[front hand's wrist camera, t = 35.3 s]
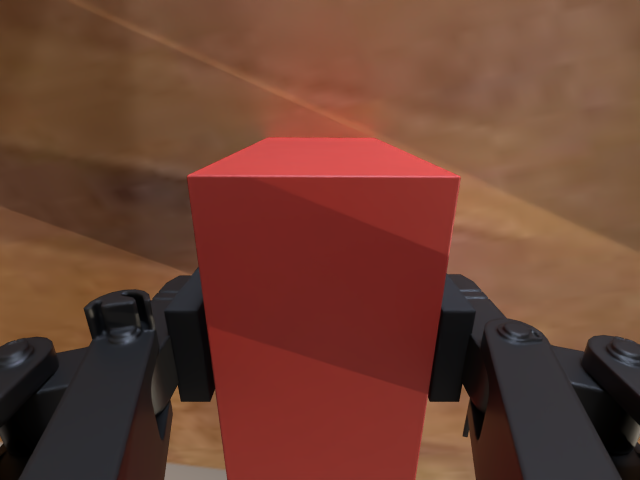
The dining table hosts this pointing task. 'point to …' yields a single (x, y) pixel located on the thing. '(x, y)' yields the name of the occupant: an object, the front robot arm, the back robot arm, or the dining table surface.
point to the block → (322, 303)
